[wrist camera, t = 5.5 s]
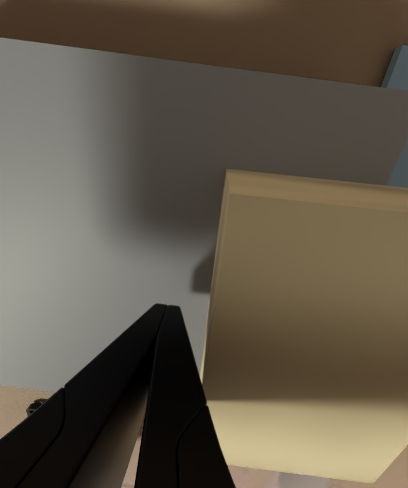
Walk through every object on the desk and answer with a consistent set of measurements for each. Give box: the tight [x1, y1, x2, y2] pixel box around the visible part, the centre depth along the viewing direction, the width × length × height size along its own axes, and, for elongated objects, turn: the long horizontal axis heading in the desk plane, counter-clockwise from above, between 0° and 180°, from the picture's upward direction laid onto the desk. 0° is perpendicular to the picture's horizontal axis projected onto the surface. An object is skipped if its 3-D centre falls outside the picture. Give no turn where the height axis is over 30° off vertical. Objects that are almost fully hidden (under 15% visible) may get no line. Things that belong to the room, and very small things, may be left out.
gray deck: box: [0, 38, 408, 393], centre depth 10 cm, size 14×16×4 cm
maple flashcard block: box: [200, 169, 408, 483], centre depth 7 cm, size 9×6×3 cm, turn 175°
